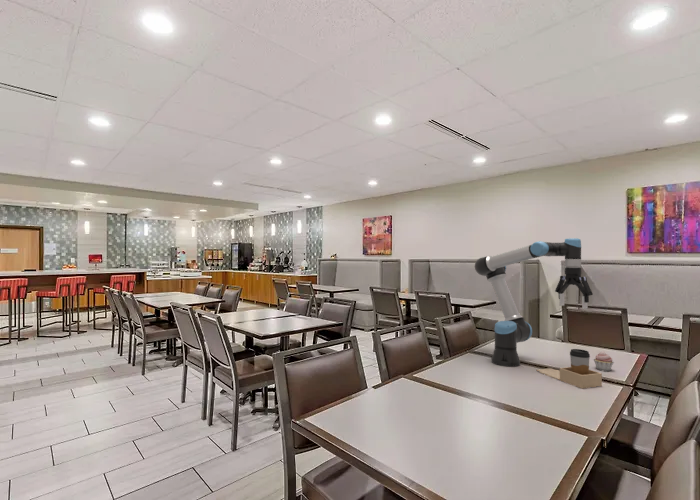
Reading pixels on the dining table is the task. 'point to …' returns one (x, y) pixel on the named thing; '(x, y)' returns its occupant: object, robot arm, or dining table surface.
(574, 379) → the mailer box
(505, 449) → the dining table surface
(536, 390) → the dining table surface
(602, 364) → the cupcake
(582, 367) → the coffee cup
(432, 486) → the dining table surface
